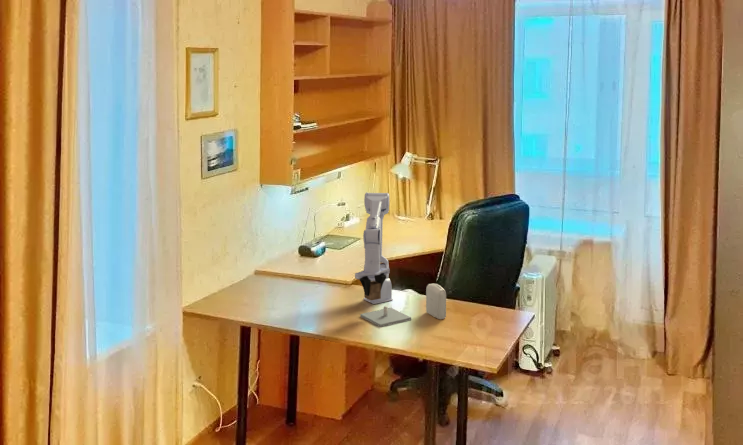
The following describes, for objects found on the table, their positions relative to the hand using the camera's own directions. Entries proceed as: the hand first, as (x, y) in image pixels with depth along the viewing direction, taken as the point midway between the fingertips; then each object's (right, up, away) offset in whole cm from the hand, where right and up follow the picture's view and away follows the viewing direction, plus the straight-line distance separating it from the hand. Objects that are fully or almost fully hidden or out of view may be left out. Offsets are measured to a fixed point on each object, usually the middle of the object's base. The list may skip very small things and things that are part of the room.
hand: (372, 293), depth 322 cm
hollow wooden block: (0, -2, 0) cm, 2 cm away
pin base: (+5, -9, 0) cm, 10 cm away
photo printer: (+24, -9, +3) cm, 26 cm away
